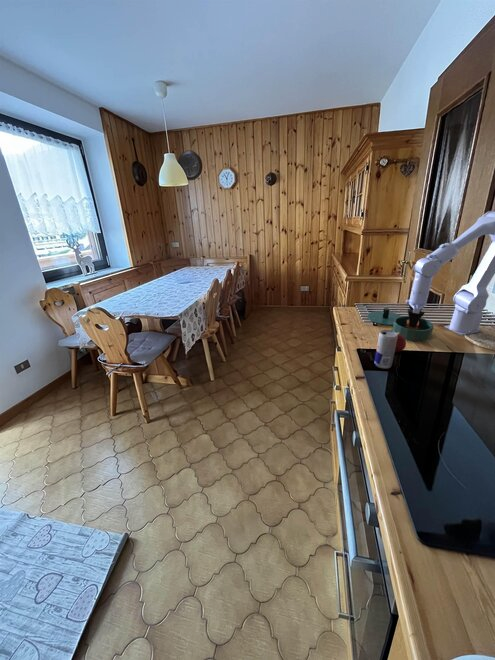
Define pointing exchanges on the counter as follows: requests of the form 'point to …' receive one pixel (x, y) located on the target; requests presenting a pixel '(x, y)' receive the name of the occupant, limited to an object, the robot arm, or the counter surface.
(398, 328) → the tin
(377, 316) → the tin lid
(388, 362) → the energy drink
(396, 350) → the onion
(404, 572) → the counter surface
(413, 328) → the block
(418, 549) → the counter surface
